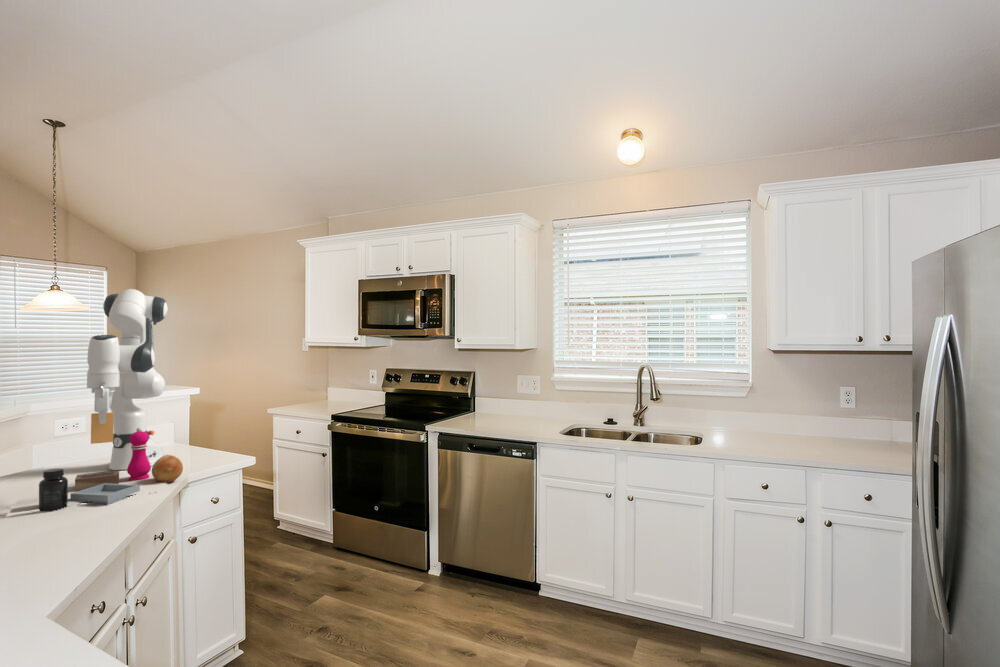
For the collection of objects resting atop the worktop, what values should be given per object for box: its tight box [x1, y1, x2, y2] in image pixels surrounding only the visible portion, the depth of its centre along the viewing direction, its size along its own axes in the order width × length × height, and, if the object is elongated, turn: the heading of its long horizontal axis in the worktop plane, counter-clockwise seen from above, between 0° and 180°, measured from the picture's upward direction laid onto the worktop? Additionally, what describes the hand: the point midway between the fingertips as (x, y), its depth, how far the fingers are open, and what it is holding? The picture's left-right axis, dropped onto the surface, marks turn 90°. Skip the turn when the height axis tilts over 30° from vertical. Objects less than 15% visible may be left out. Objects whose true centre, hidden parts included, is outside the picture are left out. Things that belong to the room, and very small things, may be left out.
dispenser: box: [74, 470, 120, 492], centre depth 183 cm, size 8×12×6 cm, turn 125°
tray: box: [70, 483, 141, 506], centre depth 172 cm, size 12×14×3 cm
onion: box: [151, 454, 184, 484], centre depth 191 cm, size 10×10×10 cm
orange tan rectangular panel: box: [90, 411, 114, 445], centre depth 176 cm, size 1×6×10 cm, turn 125°
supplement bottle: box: [38, 467, 69, 512], centre depth 162 cm, size 7×7×12 cm
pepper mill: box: [126, 427, 152, 482], centre depth 193 cm, size 7×7×20 cm
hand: (102, 423), depth 176 cm, fingers closed on orange tan rectangular panel, 1 cm apart
